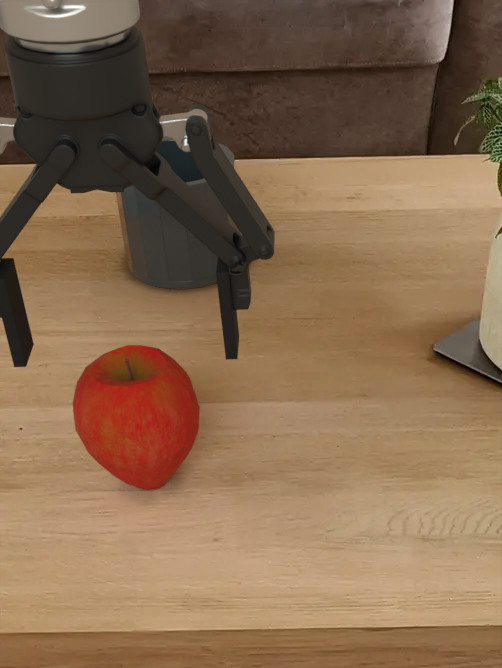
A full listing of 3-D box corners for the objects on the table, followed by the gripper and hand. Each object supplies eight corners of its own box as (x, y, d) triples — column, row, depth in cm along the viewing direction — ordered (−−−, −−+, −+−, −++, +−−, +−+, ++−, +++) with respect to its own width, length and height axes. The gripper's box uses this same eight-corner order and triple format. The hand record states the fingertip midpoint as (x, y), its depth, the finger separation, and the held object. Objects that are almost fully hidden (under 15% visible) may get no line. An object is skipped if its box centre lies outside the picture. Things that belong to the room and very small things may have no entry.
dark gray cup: (107, 277, 107) (89, 176, 101) (161, 226, 115) (148, 129, 109) (213, 297, 105) (201, 195, 98) (261, 243, 113) (253, 146, 106)
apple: (95, 448, 87) (70, 325, 81) (210, 440, 88) (194, 319, 82) (82, 524, 81) (54, 397, 74) (207, 515, 82) (190, 390, 75)
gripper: (-186, 57, 60) (-80, 391, 73) (299, 50, 63) (318, 376, 76) (-142, 10, 66) (-51, 328, 79) (299, 5, 68) (317, 315, 81)
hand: (129, 352), depth 77 cm, fingers open, 13 cm apart
